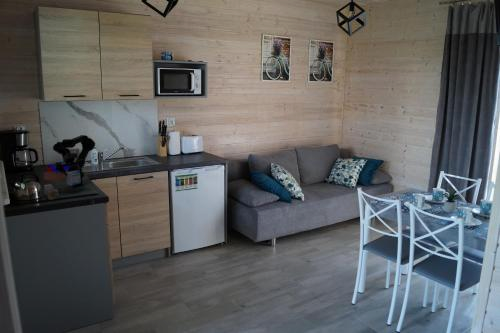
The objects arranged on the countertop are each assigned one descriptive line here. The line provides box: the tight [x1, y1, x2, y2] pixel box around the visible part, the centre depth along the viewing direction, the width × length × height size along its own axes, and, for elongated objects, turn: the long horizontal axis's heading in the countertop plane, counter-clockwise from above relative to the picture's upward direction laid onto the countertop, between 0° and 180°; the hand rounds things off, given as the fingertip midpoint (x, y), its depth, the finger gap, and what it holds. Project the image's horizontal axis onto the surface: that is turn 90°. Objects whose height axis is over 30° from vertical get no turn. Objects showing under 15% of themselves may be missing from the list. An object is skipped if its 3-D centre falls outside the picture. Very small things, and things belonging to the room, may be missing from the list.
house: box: [42, 161, 70, 182], centre depth 318 cm, size 12×20×12 cm, turn 164°
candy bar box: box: [68, 148, 81, 162], centre depth 358 cm, size 11×5×16 cm, turn 84°
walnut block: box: [47, 188, 60, 201], centre depth 262 cm, size 5×5×5 cm
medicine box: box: [65, 170, 81, 187], centre depth 274 cm, size 8×4×9 cm, turn 156°
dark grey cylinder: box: [44, 186, 55, 198], centre depth 267 cm, size 5×5×6 cm
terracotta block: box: [43, 183, 53, 195], centre depth 272 cm, size 4×4×6 cm
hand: (73, 174), depth 273 cm, fingers closed on medicine box, 9 cm apart
